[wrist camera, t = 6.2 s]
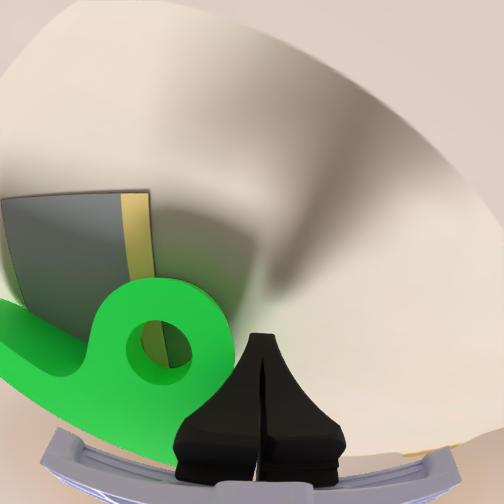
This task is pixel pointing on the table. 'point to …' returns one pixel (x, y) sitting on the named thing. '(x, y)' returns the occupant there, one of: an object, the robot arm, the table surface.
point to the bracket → (121, 365)
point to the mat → (81, 257)
